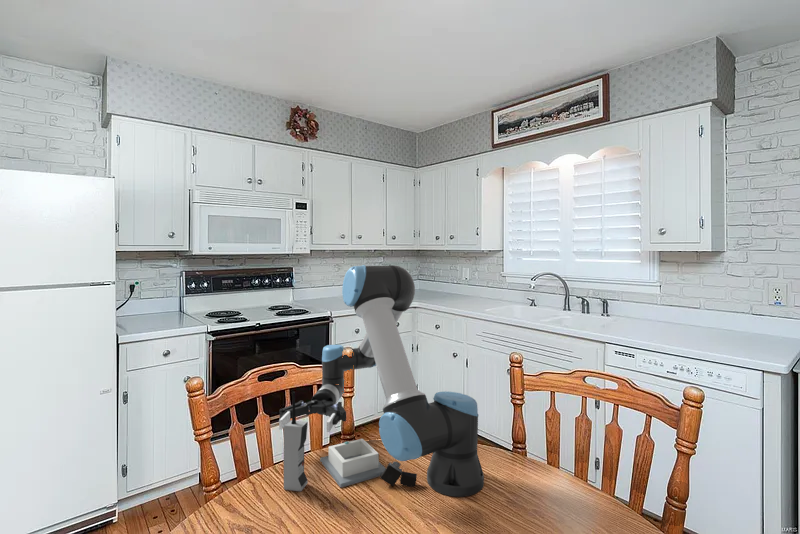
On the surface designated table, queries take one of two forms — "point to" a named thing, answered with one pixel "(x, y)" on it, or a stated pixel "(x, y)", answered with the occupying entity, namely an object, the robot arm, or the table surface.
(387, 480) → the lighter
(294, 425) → the vintage mobile phone
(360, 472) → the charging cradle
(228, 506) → the table surface
